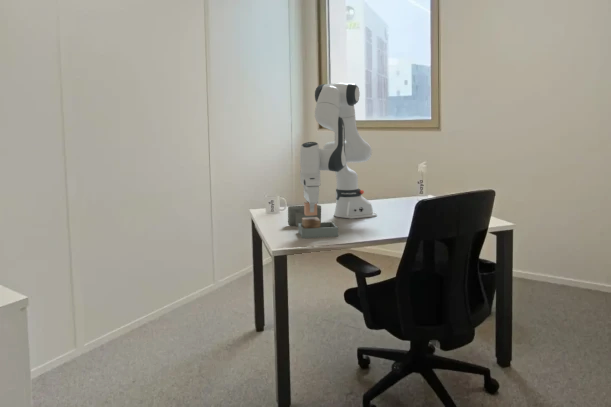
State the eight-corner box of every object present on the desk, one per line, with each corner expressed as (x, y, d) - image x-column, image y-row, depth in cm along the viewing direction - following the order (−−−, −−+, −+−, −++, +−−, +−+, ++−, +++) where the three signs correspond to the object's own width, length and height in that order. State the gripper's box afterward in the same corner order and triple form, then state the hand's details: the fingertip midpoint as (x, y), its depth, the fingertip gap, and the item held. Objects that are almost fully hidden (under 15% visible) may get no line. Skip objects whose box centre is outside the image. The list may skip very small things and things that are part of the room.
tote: (333, 232, 260) (332, 221, 260) (338, 238, 249) (338, 227, 248) (298, 234, 258) (298, 223, 257) (302, 240, 247) (301, 229, 246)
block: (317, 232, 257) (317, 217, 256) (320, 236, 250) (320, 220, 248) (302, 232, 256) (301, 217, 255) (304, 236, 249) (304, 221, 247)
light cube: (315, 213, 254) (315, 202, 253) (317, 215, 249) (317, 203, 248) (304, 213, 253) (304, 202, 253) (305, 215, 249) (305, 204, 248)
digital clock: (322, 224, 278) (322, 203, 276) (320, 228, 269) (319, 206, 267) (289, 224, 280) (289, 203, 278) (286, 228, 271) (285, 206, 270)
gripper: (300, 177, 258) (300, 207, 261) (306, 182, 238) (306, 215, 241) (313, 176, 259) (314, 206, 262) (321, 182, 239) (321, 214, 242)
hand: (310, 210), depth 251 cm, fingers closed on light cube, 5 cm apart
